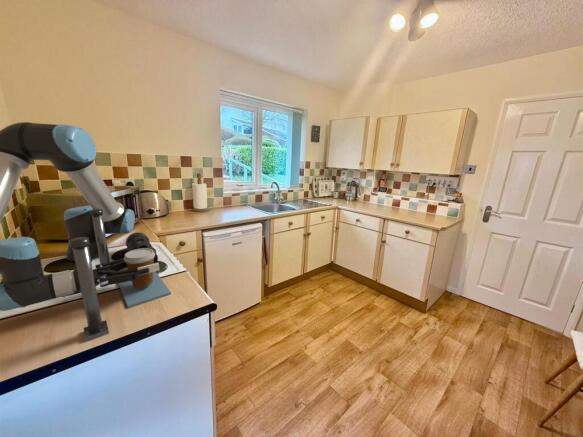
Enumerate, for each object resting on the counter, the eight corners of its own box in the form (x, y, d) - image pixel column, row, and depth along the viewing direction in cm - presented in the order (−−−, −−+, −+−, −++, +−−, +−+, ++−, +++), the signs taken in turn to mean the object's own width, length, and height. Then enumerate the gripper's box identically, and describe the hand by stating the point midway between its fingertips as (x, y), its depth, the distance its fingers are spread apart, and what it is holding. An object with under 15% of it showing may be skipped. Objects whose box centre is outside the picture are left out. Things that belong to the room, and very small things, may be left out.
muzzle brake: (133, 275, 97) (130, 252, 94) (126, 252, 118) (124, 232, 115) (159, 269, 103) (157, 247, 100) (148, 248, 123) (146, 229, 121)
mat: (118, 282, 90) (117, 281, 90) (155, 273, 99) (155, 271, 99) (128, 308, 76) (127, 306, 76) (171, 294, 85) (170, 292, 85)
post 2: (98, 277, 94) (87, 209, 87) (114, 273, 97) (104, 208, 90) (100, 282, 90) (88, 212, 83) (116, 278, 94) (105, 210, 87)
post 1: (84, 331, 66) (65, 238, 59) (106, 323, 69) (91, 234, 62) (85, 341, 62) (65, 244, 55) (109, 333, 66) (92, 240, 59)
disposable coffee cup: (135, 293, 81) (131, 261, 78) (122, 284, 86) (117, 253, 83) (163, 281, 89) (160, 252, 86) (149, 274, 94) (146, 246, 90)
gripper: (75, 278, 82) (149, 261, 97) (77, 308, 67) (164, 282, 82) (71, 258, 80) (147, 244, 95) (72, 284, 65) (162, 262, 80)
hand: (155, 262), depth 89 cm, fingers closed on disposable coffee cup, 8 cm apart
